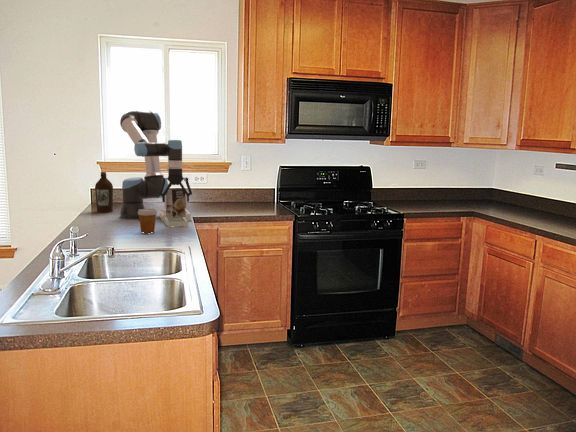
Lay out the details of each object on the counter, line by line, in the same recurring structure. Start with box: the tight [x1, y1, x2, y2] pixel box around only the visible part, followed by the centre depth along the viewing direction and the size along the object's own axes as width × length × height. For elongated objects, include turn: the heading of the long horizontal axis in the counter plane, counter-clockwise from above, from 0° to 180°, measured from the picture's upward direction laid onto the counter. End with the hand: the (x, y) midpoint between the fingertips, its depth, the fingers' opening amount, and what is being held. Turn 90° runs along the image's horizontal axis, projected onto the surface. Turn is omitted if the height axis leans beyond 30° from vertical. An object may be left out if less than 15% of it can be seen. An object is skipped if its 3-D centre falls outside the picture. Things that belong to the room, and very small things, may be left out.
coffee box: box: [165, 187, 187, 219], centre depth 276 cm, size 9×6×16 cm
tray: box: [164, 217, 189, 228], centre depth 278 cm, size 11×14×3 cm
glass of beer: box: [138, 208, 158, 233], centre depth 254 cm, size 10×10×12 cm
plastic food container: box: [158, 208, 192, 222], centre depth 296 cm, size 16×17×4 cm
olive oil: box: [94, 171, 114, 213], centre depth 312 cm, size 11×11×25 cm
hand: (175, 207), depth 276 cm, fingers closed on coffee box, 11 cm apart
